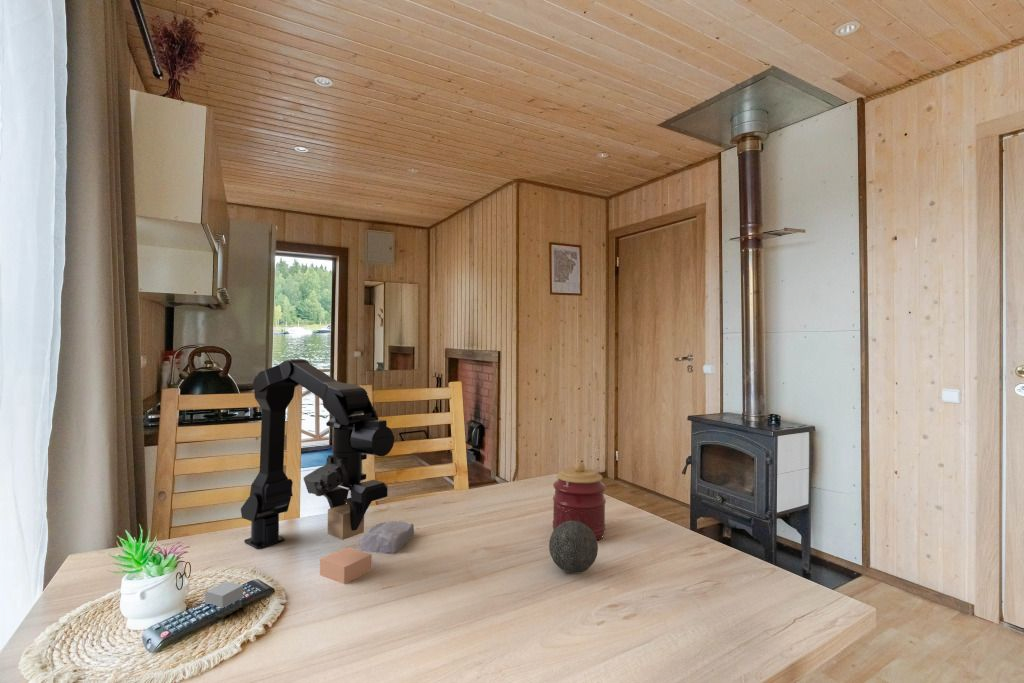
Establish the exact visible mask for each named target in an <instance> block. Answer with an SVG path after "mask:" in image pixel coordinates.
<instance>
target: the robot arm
mask: <svg viewBox="0 0 1024 683" xmlns="http://www.w3.org/2000/svg"><path fill="white" fill-rule="evenodd" d="M252 384H253V385H252V386H253V390H254V394H253V395H254V399H255V401H256V402H257V404H258V405H259V407H260V409H261V427H260V430H261V431H260V454H259V457H260V458H259V472H258V474H257V475H256V476H255V479H253V482H252V483H251V484H250V485H251V486H250V490H249V491H250V492H249V497H247V499H246V500H245V502H244V503H243V505H242V506H241V508H240V514H241V517H242V518H241V519H243V520H246V521H250V522H251V524H250V525H251V526H250V537H249V538H246V539H244V540H243V541H244V543H245V544H247V545H250V546H252V547H253V548H256V549H261V548H265V547H268V546H271V545H274V544H277V543H281V542H283V541H285V540H286V538H285V537H284V536H282V535H279V534H280V532H279V531H280V514H282V513H287V512H288V511H289V507H290V503H291V498H292V497H293V479H291V478H288V476H287V474H286V473H285V471H284V464H285V462H284V461H285V442H286V441H285V437H286V413H287V411H286V410H287V408H288V406H289V405H290V404H291V403H292V400H293V399H294V398H295V397H294V396H295V391H296V388H297V387H298V386H301V387H302V388H303V389H306V390H307V391H308V392H310V393H312V394H313V395H314V396H316V397H317V398H320V400H321V401H322V405H323V408H324V409H325V410H326V411H327V412H328V413H329V414H330V415H331V416H332V417H331V418H330V419H329V420H328V421H327V422H326V423H325V424H326V426H327V427H332V454H329V455H327V458H326V463H325V465H323V466H319V467H318V468H316V469H314V470H313V471H312V472H310V473H308V474H306V475H305V476H303V481H304V483H305V487H306V490H307V493H308V494H312V495H315V496H316V497H322V496H323V497H325V499H326V500H327V502H328V505H329V507H330V508H333V507H337V506H340V505H344V504H348V505H349V506H350V520H351V529H352V531H354V530H357V529H358V527H359V525H360V523H361V521H362V519H363V516H364V517H365V515H366V512H367V511H368V508H369V507H370V505H371V504H372V502H373V501H378V500H381V499H384V498H388V496H389V494H388V492H389V490H388V489H389V486H388V484H386V483H385V482H383V481H379V480H376V479H370V480H367V473H363V461H364V460H367V458H368V455H371V456H376V457H386V456H387V455H388V454H389V453H391V451H392V449H393V448H394V444H395V436H394V433H393V430H392V429H391V428H390V427H388V426H387V425H388V424H387V420H386V419H379V417H378V415H377V411H376V410H375V408H374V406H373V404H372V402H371V400H370V397H369V396H368V392H367V390H366V389H365V388H364V387H361V386H358V385H355V384H352V383H347V382H340V381H338V380H337V379H335V378H333V377H332V376H330V375H328V374H327V373H325V372H323V371H322V370H320V369H318V368H317V367H316V366H314V365H313V364H310V362H309V361H308V360H306V359H304V358H302V359H301V358H293V359H292V358H291V359H289V358H288V359H286V360H285V361H282V362H280V363H279V364H277V365H274V366H272V367H270V368H269V367H268V368H266V369H264V370H263V371H259V372H258V374H257V375H255V376H254V379H253V382H252ZM364 480H366V481H364ZM349 491H350V497H349ZM330 508H329V509H330Z"/></svg>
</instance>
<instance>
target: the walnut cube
mask: <svg viewBox="0 0 1024 683" xmlns="http://www.w3.org/2000/svg"><path fill="white" fill-rule="evenodd" d="M364 533H365V515H364V516H363V519H362V521H361V523H360V525H359V527H358V529H357V530H354V531H352V529H351V520H350V506H349V505H348V504H347V503H346V504H344V505H340V506H337V507H333V508H327V535H328V536H331V537H334V538H337V539H339V540H341V541H344V540H346V539H350V538H353V537H355V536H358V535H360V534H364Z"/></svg>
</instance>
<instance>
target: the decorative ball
mask: <svg viewBox="0 0 1024 683" xmlns="http://www.w3.org/2000/svg"><path fill="white" fill-rule="evenodd" d="M548 542H549V544H548V546H549V547H548V549H549V554H550V557H551V559H552V561H553V563H554V564H555V565H556V566H557V567H558V568H560V569H561V570H563V571H564V572H566V573H570V574H579V573H582V572H584V571H587V570H588V569H589V568H590V567H592V565H593V564H594V562H595V561H596V559H597V556H598V551H599V546H598V545H599V544H598V540H597V539H596V537H595V534H594V533H593V531H592V530H591V529H590V528H589V527H588V526H587V525H585V524H583V523H581V522H578V521H566V522H564V523H562V524H560V525H559V526H557V527H556V528H555V530H553V531H552V532H551V535H550V537H549V541H548Z"/></svg>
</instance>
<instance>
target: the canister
mask: <svg viewBox="0 0 1024 683" xmlns="http://www.w3.org/2000/svg"><path fill="white" fill-rule="evenodd" d="M585 466H586V465H585V464H584V462H582V461H577V462H575V463H574V465H573V467H565V468H563V469H562V470H561V471H559V472H558V473H556V477H557V480H555V481H554V482H553V484H552V486H553V488H554V495H553V497H552V500H553V511H552V512H553V520H552V528H553V531H554V530H555V528H556V527H557V526H559V525H560V524H562V523H564V522H566V521H578V522H581V523H583V524H585V525H587V526H588V527H589V528H590V529H591V530H592V531H593V533H594V534H595V537H596V539H599V538H601V537H602V536H603V535H604V536H605V531H606V517H605V516H606V503H607V501H606V498H605V495H604V493H605V490H606V484H604V483H603V482H602V480H603V479H604V478H603V475H601V474H600V473H599V472H597V470H595V469H593V468H588V467H585ZM604 536H603V537H604ZM603 537H602V538H603ZM602 538H601V539H602ZM599 540H600V539H599Z"/></svg>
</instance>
